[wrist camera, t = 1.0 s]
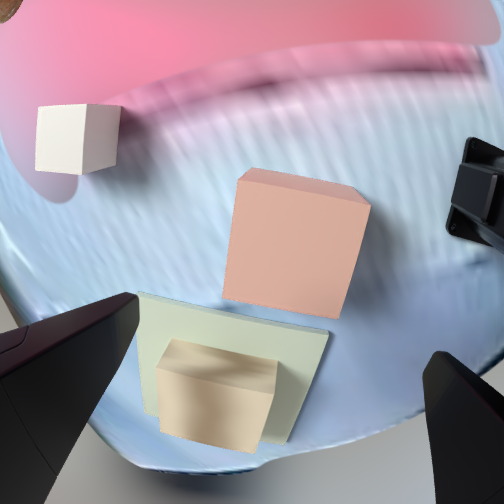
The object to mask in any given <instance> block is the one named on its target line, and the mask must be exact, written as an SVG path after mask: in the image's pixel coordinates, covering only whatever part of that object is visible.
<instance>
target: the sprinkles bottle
mask: <svg viewBox="0 0 504 504" xmlns="http://www.w3.org/2000/svg"><path fill="white" fill-rule="evenodd" d="M22 1H23V0H0V23H4V22H6V21H7V20H9V19H10V18H11V17H12V16H13V15H14V14H15V13H16V11H17V10H18V9H19V7H20V5H21V3H22Z"/></svg>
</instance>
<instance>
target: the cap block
mask: <svg viewBox="0 0 504 504" xmlns="http://www.w3.org/2000/svg"><path fill="white" fill-rule="evenodd" d="M120 115H121V106H117V105H99V104H74V105H56V106H42V107H38V118H37V132H36V133H37V134H36V157H35V160H36V161H35V170H36V171H48V172H58V173H69V174H78V175H83V174H87V173H90V172H93V171H97V170H100V169H104V168H108V167H111V166H115V165H116V158H117V145H118V133H119V124H120Z"/></svg>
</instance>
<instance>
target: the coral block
mask: <svg viewBox="0 0 504 504" xmlns="http://www.w3.org/2000/svg"><path fill="white" fill-rule="evenodd" d="M370 208H371V205H370V204H369V203H368V202H367V201H366V200H365V199H364V198H363V197H362V196H361V195H360V194H359V193H358V192H357V191H356V190H355V189H354V188H353V187H351V186H346V185H342V184H337V183H333V182H328V181H323V180H318V179H313V178H308V177H303V176H298V175H293V174H287V173H282V172H276V171H271V170H265V169H259V168H253V167H252V168H251V169H250V170H248V171H247V172H246V173H245V174H244V175H243V176H241V177H240V178H239V179H238V183H237V190H236V197H235V204H234V211H233V218H232V226H231V233H230V241H229V248H228V256H227V264H226V271H225V279H224V287H223V295H222V298H224V299H229V300H234V301H239V302H244V303H249V304H254V305H259V306H265V307H270V308H275V309H281V310H286V311H292V312H297V313H303V314H309V315H315V316H321V317H327V318H333V319H338V318H339V315H340V312H341V309H342V306H343V303H344V300H345V297H346V294H347V291H348V287H349V284H350V281H351V278H352V274H353V271H354V268H355V264H356V261H357V257H358V254H359V250H360V247H361V243H362V239H363V236H364V232H365V228H366V224H367V220H368V216H369V212H370Z"/></svg>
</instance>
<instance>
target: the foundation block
mask: <svg viewBox="0 0 504 504" xmlns="http://www.w3.org/2000/svg"><path fill="white" fill-rule="evenodd" d="M277 363H278V360H272V359H266V358H261V357H256V356H251V355H246V354H241V353H236V352H231V351H226V350H222V349H217V348H213V347H208V346H204V345H200V344H196V343H191V342H187V341H183V340H179V339H175V338H172V339H171V341H170V342H169V344H168V346H167V348H166V350H165V351H164V353H163V355H162V357H161V359H160V361H159V362H158V364H157V366H156V382H157V397H158V410H159V422H160V432H163V433H166V434H169V435H173V436H176V437H180V438H183V439H187V440H191V441H195V442H199V443H203V444H207V445H212V446H216V447H221V448H225V449H230V450H235V451H240V452H246V453H252V454H255V452H256V449H257V446H258V443H259V440H260V437H261V434H262V431H263V428H264V425H265V422H266V419H267V416H268V413H269V410H270V407H271V404H272V400H273V397H274V393H275V383H276V373H277Z"/></svg>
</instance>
